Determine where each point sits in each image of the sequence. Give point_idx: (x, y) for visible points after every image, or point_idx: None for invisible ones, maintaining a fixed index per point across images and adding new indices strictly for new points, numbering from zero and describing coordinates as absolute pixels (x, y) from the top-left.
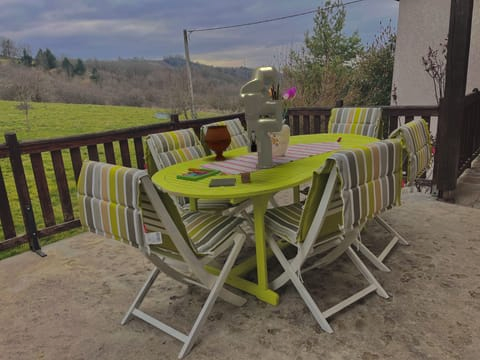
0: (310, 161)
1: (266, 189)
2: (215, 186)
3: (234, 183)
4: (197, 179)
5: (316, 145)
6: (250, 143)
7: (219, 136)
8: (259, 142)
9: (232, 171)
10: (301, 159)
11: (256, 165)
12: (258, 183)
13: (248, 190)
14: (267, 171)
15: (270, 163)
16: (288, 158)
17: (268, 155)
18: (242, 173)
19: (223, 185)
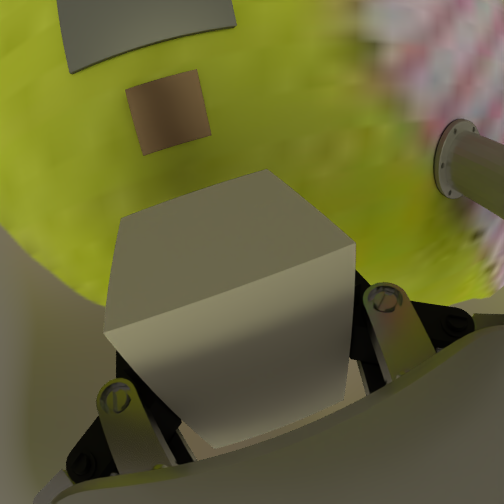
0: (453, 287)
1: (50, 270)
2: None
3: (85, 65)
4: None
5: None
6: (146, 382)
7: None
8: (257, 432)
9: (409, 9)
10: (478, 257)
11: (462, 123)
12: (143, 194)
13: (9, 194)
14: (392, 178)
15: (455, 187)
16: (499, 218)
17: (482, 197)
18: (172, 86)
19: (59, 15)
